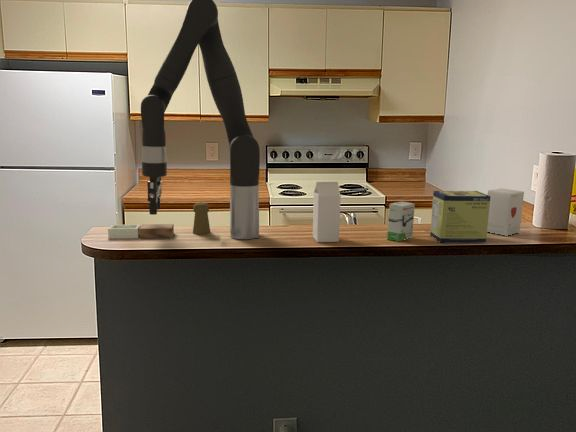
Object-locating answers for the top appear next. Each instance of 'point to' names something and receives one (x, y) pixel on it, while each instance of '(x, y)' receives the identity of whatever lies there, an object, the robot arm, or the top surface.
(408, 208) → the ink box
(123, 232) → the dish
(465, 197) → the protein box
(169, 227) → the lid
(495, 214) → the supplement box
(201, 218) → the cork
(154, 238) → the mat
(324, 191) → the milk carton
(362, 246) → the top surface
